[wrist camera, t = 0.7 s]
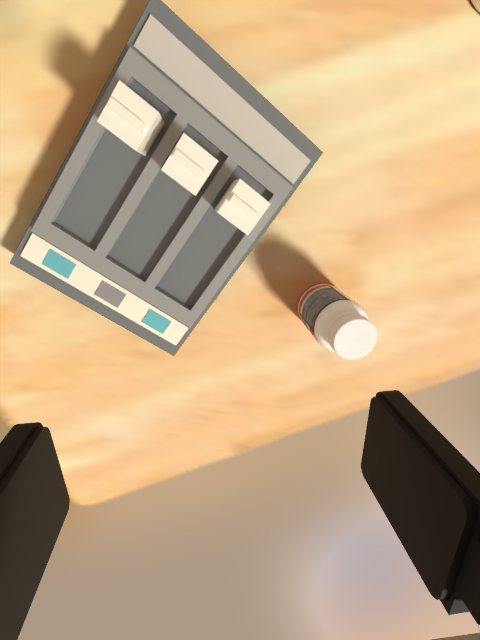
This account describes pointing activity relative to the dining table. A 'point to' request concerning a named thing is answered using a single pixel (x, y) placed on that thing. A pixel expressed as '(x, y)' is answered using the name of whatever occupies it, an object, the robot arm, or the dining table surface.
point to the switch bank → (163, 189)
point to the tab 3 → (242, 206)
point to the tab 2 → (189, 164)
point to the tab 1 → (131, 119)
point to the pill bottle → (337, 321)
